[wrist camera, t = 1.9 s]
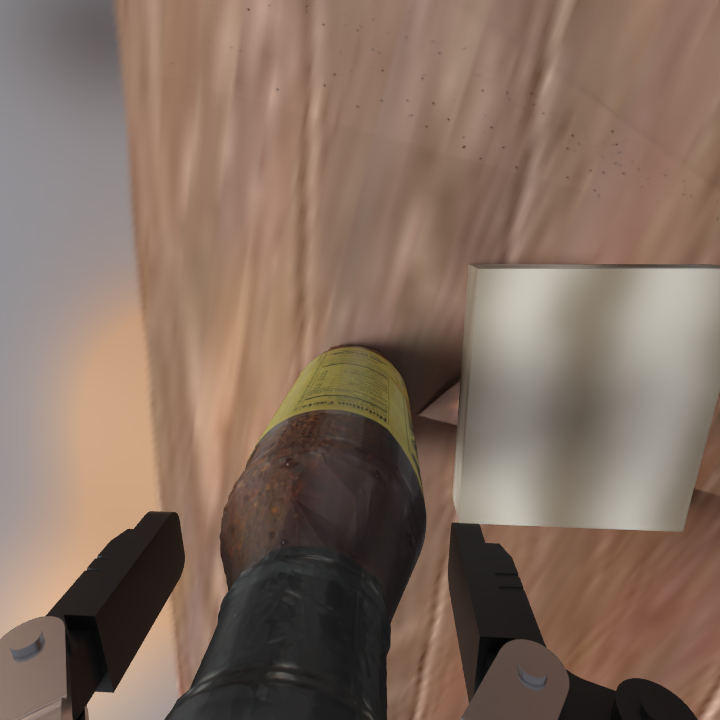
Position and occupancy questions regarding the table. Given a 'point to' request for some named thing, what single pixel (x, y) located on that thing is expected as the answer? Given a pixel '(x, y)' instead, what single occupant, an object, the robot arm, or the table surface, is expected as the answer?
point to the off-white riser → (586, 393)
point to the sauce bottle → (316, 551)
